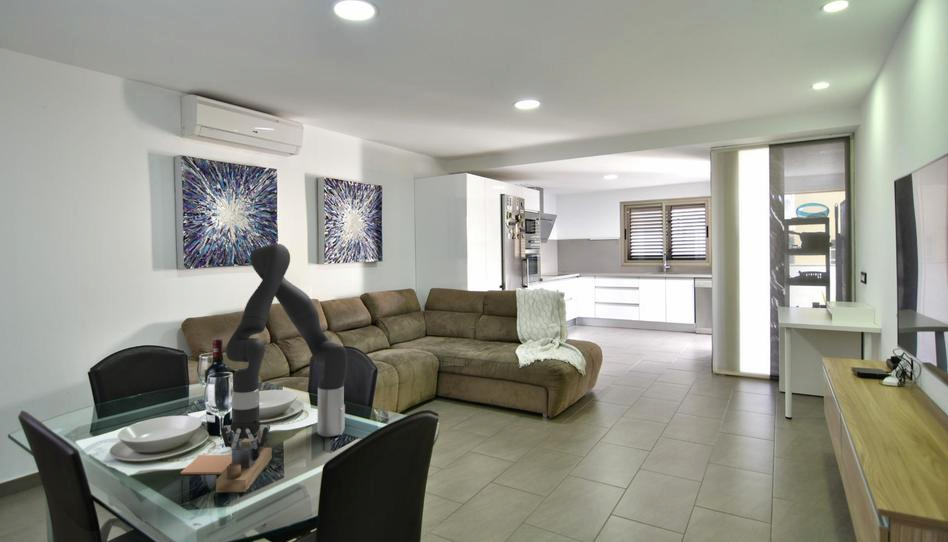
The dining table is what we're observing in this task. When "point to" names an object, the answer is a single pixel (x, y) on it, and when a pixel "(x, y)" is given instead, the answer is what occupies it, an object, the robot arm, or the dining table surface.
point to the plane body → (242, 474)
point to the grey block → (243, 454)
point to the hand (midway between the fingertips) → (245, 459)
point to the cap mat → (208, 464)
